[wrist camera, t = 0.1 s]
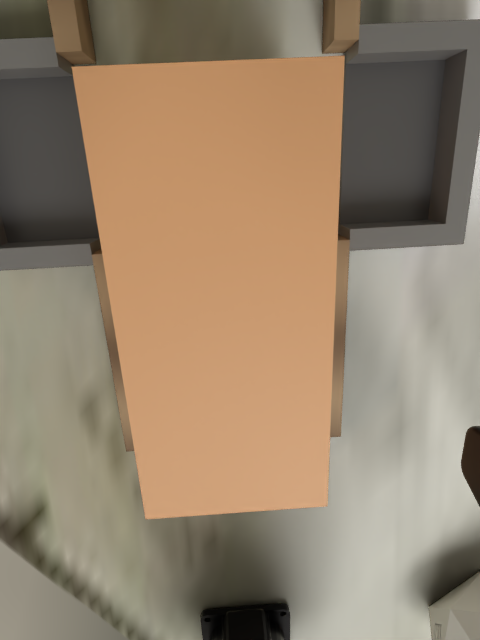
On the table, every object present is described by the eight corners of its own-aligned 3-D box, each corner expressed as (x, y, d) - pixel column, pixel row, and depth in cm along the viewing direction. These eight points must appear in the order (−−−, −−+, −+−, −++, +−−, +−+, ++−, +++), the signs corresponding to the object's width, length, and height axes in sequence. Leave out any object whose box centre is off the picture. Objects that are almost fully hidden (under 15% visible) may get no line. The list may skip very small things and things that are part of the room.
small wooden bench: (331, 416, 25) (351, 460, 21) (133, 429, 24) (117, 477, 21) (353, -194, 15) (396, -311, 12) (31, -186, 15) (-31, -303, 11)
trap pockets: (442, 237, 21) (463, 244, 19) (-5, 262, 21) (-27, 272, 19) (467, 34, 18) (495, 18, 16) (-59, 56, 18) (-92, 43, 16)
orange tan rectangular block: (289, 388, 24) (327, 506, 16) (171, 396, 24) (145, 519, 16) (288, 106, 19) (344, 56, 11) (137, 112, 19) (71, 66, 10)
